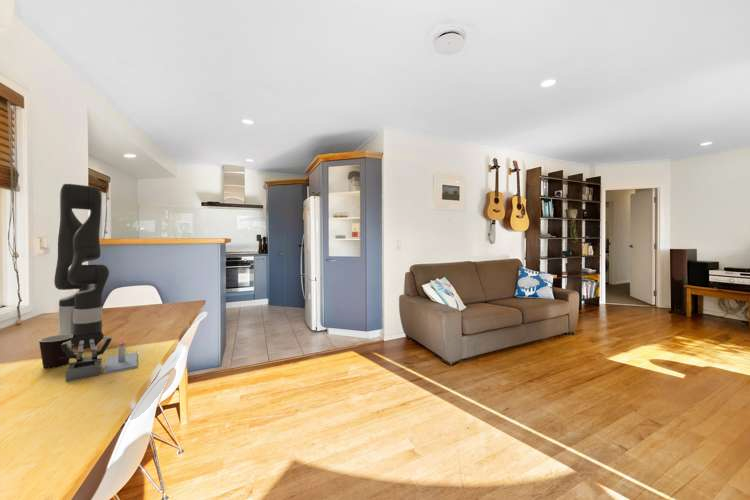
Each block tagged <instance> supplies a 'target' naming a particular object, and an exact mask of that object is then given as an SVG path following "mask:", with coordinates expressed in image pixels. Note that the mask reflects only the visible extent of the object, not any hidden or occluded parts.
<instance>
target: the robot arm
mask: <svg viewBox="0 0 750 500" xmlns="http://www.w3.org/2000/svg"><path fill="white" fill-rule="evenodd" d="M73 209H74V210H75V209H76V210H89V215H88V217H87V219H85V221H84V222H83V223H82V222H81V221H80V220H79V219H78V217H77V216H76V215H75V213H74V211H73ZM101 217H102V194H101V190H100V189H99V188H98V187H97V186H92V185H84V184H77V183H75V184H74V183H63V184H62V185H61V186H60V190H59V218H60V219H59V227H58V235H57V237H58V238H57V261H56V265H55V266H56V268H55V273H54V280H53V281H54V287H55V288H56V289H57V290H60V291H61V290H62V291H67V290H69V291H70V290H78V291H77V292H75V293H73V294H71V295H68V296H65V297H62V298H61V299H59V301H58V335H65V334H70V335H73V337H72V338H71V340H70V341H68V342H64V343H63V344H62V345H61V348H62V349H63V350H64V352H65V353H66V354H67V356H68V357H69V358H70V359H71V360H72V359H75V360H76V362H79V361H82V360H83V354H84V350H85V349H90V351H91V356H92V359H98V356H100V355H102V354H104V353H105V351H106V350H107V348H108V346H109V345H110V343H111V342H112V339H113V337H112V336H105V335H104V333H103V309H102V308H103V307H102V302H103V293H104V289H105V286H106V284H107V281H108V279H109V276H110V270H109V268H108V267H107V265H105V264H83V263H85V262H90V261H96V260H98V259H100V257H101V245H100V244H101V241H100V227H101ZM90 285H93V286H92V287H91V288H90ZM101 341H102V342H103V345H102V347H101V348H100V350H98V344H99V343H100V342H101ZM71 343H73V344H72V347H74V346H75V347H76V348H77V353H75V352H74V350H73V349H72V348H70V347H71Z"/></svg>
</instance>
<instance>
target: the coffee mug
mask: <svg viewBox="0 0 750 500" xmlns="http://www.w3.org/2000/svg"><path fill="white" fill-rule="evenodd" d="M72 337H73V335H70V334H65V335H57V334H56V335H50V336H46V337H42V338H40V339H39V340H38V343H39V349H40V350H39V351H40V356H41V362H42V368H43V369H45V370H47V369H48V370H50V369H58V368H62V367H64V366H68V365H69V364H70V358H69V357H68V356H67V354H66V353H65V352H64V350H63V349H62V348H61V345H62V344H63V343H64V342H68V341H70V340H71V338H72ZM72 344H73V343H71V347H70V348H71V349H72V348H73V346H72Z"/></svg>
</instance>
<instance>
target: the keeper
mask: <svg viewBox="0 0 750 500" xmlns="http://www.w3.org/2000/svg"><path fill="white" fill-rule="evenodd" d="M117 352H118V353H117V355H112V356H110V355H109V356H107V357H106V362H105V365H104V368H103V374H105V375H106V374H109V373H114V372H119V371H120V372H121V371H127V370H131V369H137V368H138V351H137V352H130V353H126V343H125V342H120V343H119V344H118V351H117Z"/></svg>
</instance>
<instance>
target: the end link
mask: <svg viewBox="0 0 750 500" xmlns="http://www.w3.org/2000/svg"><path fill="white" fill-rule="evenodd" d="M82 357H83V356H82ZM102 362H103V358H102V357H97V359H92V355H91V356H90V355H89V356H84V357H83V360H82V361H79V362H77V361H73V362H69V364H68V365H67V369H66V370H65V382H72V381H76V380H77V381H78V380H83V379H87V378H88V379H89V378H93V377H94V378H95V377H100V374H101V370H102V367H103V363H102Z"/></svg>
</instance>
